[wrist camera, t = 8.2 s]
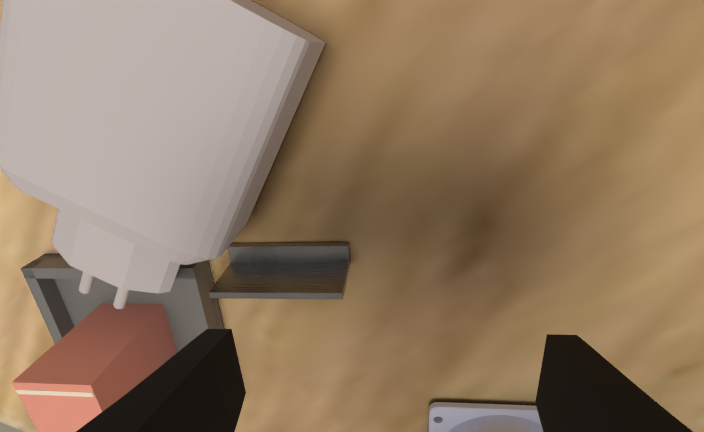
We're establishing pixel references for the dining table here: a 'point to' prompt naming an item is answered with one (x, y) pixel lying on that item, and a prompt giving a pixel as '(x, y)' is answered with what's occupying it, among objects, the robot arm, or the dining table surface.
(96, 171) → the charger
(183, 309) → the tray
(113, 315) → the salmon gift carton
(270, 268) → the bar
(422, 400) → the dining table surface
